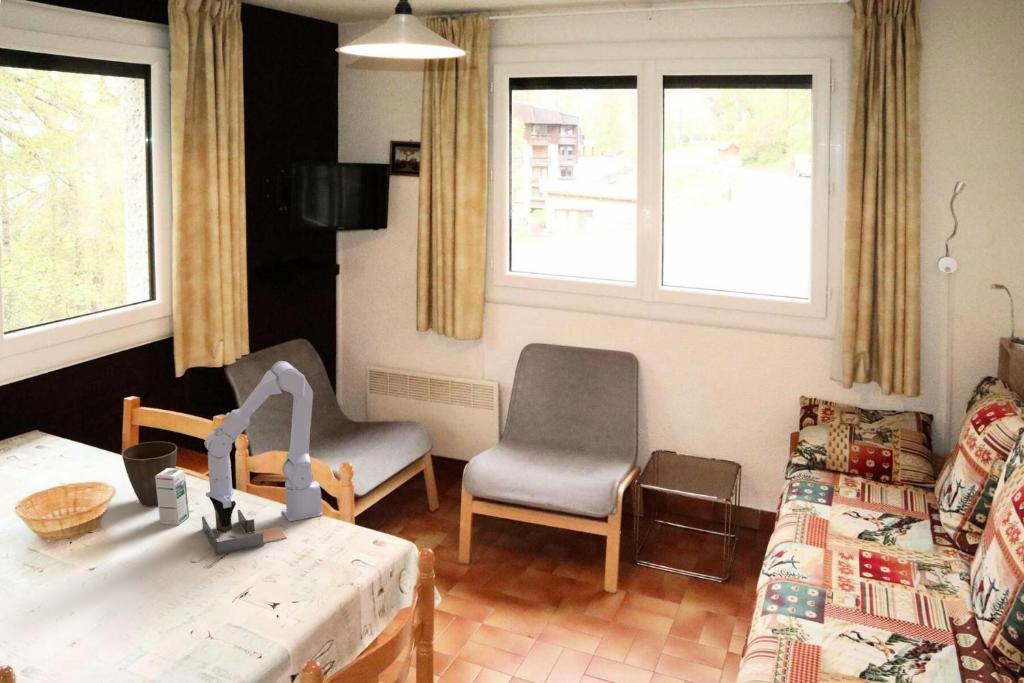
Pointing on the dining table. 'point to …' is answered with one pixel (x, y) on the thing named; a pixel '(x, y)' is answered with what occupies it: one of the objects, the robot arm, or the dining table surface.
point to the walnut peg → (218, 525)
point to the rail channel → (236, 543)
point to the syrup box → (172, 496)
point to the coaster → (272, 534)
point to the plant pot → (148, 467)
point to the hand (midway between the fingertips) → (223, 522)
